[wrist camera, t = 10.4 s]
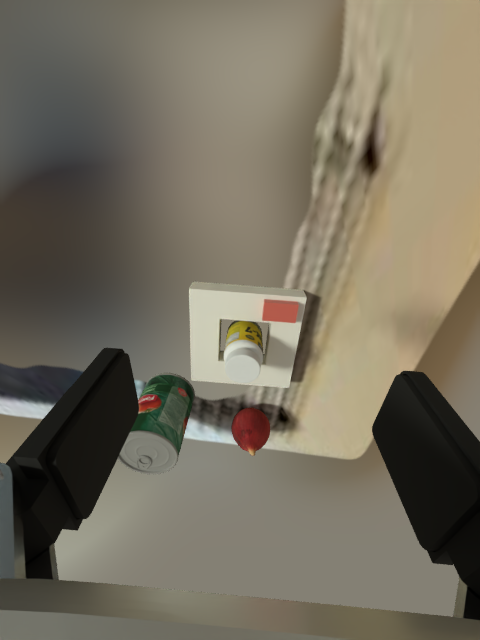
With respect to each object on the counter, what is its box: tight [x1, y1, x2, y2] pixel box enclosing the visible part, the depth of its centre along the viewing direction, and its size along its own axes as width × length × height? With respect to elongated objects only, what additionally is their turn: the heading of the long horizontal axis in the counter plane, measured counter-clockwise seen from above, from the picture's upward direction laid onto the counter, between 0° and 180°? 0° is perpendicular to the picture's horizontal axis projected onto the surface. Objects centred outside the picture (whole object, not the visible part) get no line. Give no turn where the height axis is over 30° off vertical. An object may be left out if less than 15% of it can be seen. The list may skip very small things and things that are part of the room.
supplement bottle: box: [224, 320, 263, 383], centre depth 33 cm, size 5×5×8 cm
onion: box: [231, 408, 270, 456], centre depth 40 cm, size 6×6×8 cm
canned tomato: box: [118, 373, 195, 474], centre depth 38 cm, size 8×8×11 cm
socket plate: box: [189, 282, 307, 388], centre depth 35 cm, size 14×14×4 cm
